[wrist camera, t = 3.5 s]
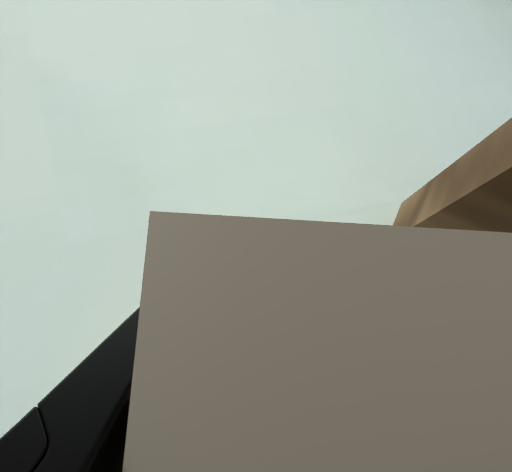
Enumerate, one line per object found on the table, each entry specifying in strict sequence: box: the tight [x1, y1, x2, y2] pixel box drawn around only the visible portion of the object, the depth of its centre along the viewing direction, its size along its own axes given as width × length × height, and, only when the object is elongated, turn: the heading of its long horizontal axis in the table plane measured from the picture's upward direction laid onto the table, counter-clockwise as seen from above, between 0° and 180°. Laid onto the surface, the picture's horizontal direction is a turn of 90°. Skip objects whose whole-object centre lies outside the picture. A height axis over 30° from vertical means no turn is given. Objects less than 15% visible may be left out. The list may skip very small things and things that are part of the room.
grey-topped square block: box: [122, 211, 512, 472], centre depth 10 cm, size 5×6×10 cm
